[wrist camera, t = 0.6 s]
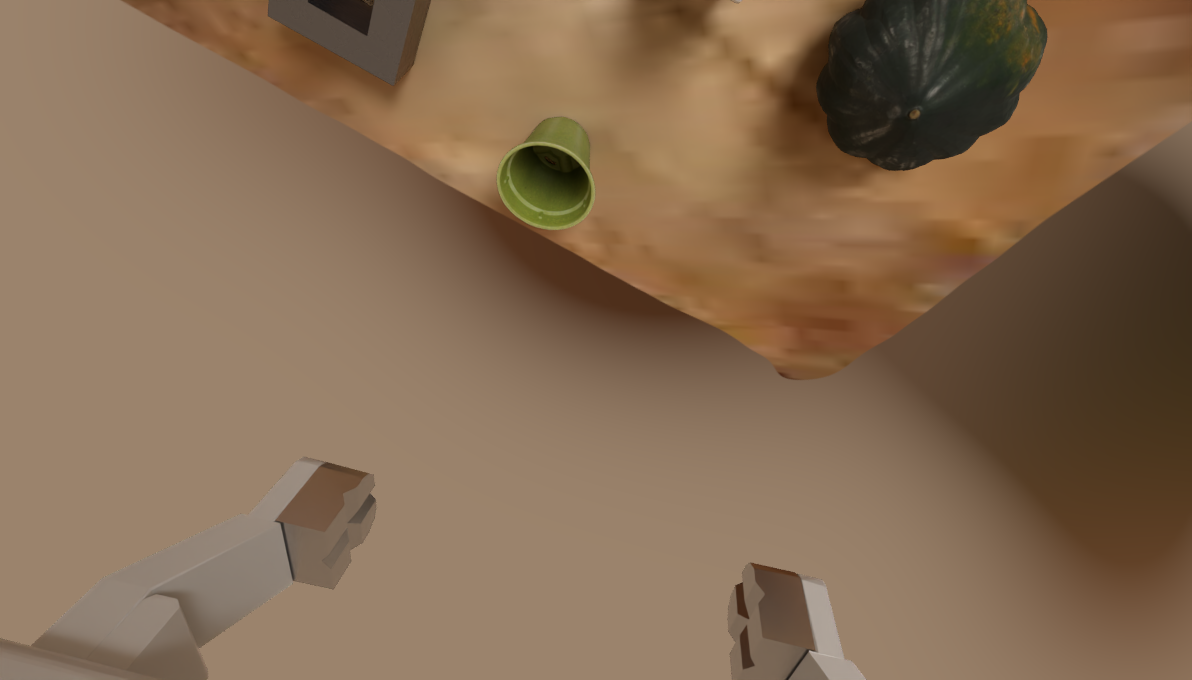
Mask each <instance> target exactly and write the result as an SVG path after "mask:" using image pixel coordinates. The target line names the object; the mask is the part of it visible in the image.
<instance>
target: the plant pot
mask: <svg viewBox="0 0 1192 680" xmlns="http://www.w3.org/2000/svg"><path fill="white" fill-rule="evenodd" d="M545 156H546V157H548V158H549V159H550V160H552V161H553V162H555V163H556V165H553V164H551V163H549V162H548V161H547V160H546V159H545ZM576 161H578V162H576ZM496 181H497V188H498V192H499V195H500V197H501V199H502V201H503V202H504V204H505V205H506V207H507V208H508V209H509V210H510V211H511V212H512V213H513V214H514V215H515V216H516V217H517V218H519V219H521V220H522V221H524V222H525V223H527V224H529V225H531V226H534V227H537V228H542V229H547V230H561V229H566V228H570V227H572V226H574V225H576V224H578V223H580V222H581V221H582V220H583V219H584V218H585V217H586V216H587V215H588V214H589V212H590V211H591V209H592V206H593V204H594V199H595V184H594V180H593V177H592V174H591V172H590V144H589V140H588V137H587V134H586V132H585V131H584V129H583V128H582V127H581V126H580V125H579V124H577V123H576V122H575V121H573V120H571V119H569V118H565V117H555V118H548V119H546V120H544V121H542V122H541V123H540V124H539V125H538V126H537V127H536V128H535V130H534V131H533V132H532V134H531V135H530V136H529V137H528V139H527V140H526V141H525V142H524V143H523V144H520V145H518V146H516V147H514V148H513V149H511V150H510V151H509V152H508V153H507V154H506V155H505V156H504V158H503V159H502V161H501V163H500V165H499V167H498V171H497V179H496Z"/></svg>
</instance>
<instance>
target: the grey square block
mask: <svg viewBox="0 0 1192 680" xmlns="http://www.w3.org/2000/svg"><path fill="white" fill-rule="evenodd" d="M430 1H431V0H374V5H373V7H371V6H370V5H368V4H366V3H365V2H363V1H361V0H269V4H268V16H269V17H271V18H272V19H274V20H276V21H278V22H280V23H281V24H283V25H285V26H287V27H289V28H290V29H292V30H294V31H296V32H297V33H299V34H301V35H303V36H305V37H306V38H308V39H310V40H312V41H314V42H315V43H317V44H319V45H321V46H323V47H324V48H326V49H328V50H330V51H332V52H333V53H335V54H337V55H339V56H341V57H342V58H344V59H346V60H348V61H350V62H351V63H353V64H355V65H357V66H359V67H360V68H362V69H364V70H366V71H368V72H369V73H371V74H373V75H375V76H377V77H378V78H380V79H382V80H384V81H386V82H387V83H389V84H391V85H393V86H394V85H395V84H396V83H397V82H398V81H399V80H400V79H401V77H402V76H403V75H404V74H405V73H406V72H407V71H408V70H409V69H410V68H411V66H412V65H413V63H414V60H415V56H416V52H417V49H418V45H419V41H420V38H421V34H422V30H423V27H424V23H425V20H426V16H427V12H428V9H429V5H430Z"/></svg>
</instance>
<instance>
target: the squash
mask: <svg viewBox="0 0 1192 680" xmlns="http://www.w3.org/2000/svg"><path fill="white" fill-rule="evenodd" d="M1046 42H1047V29H1046V26H1045V24H1044V22H1043V20H1042V19H1041V17H1040V16H1039V15H1038V13H1037V12H1036V10H1035V9H1034V8H1033V7H1031V6H1030V5H1028V4H1027V0H866V1H865V4H864V6H863V8H861V9H857V10H855V11H852V12H850V13H848V14H846V15H845V16H844V17H842V18H841V19H840V20H839V21H838V22H836V24H835V25H834V27H833V30H832V32H831V35H830V40H829V45H828V48H829V60H828V63H827V64H826V65H825V67H824V68H823V70H822V72H821V74H820V76H819V78H818V81H817V85H816V90H817V96H818V101H819V103H820V105H821V107H822V109H823V111H824V112H825V113H826V114H827V125H828V131H829V133H830V136H831V138H832V139H833V141H834V143H835V144H836V146H837V147H838V148H839V149H840V150H841V151H843V152H845V153H847V154H849V155H852V156H855V157H861V158H867V159H868V160H869V161H871V162H872V163H873V164H876V165H878V166H880V167H882V168H884V169H886V170H894V171H895V170H903V171H905V170H910V169H914V168H917V167H919V166H922V165H925V164H927V163H929V162H930V161H932V160H936V159H945V158H949V157H953V156H956V155H958V154H961V153H963V152H965V151H966V150H968V149H969V148H970V147H971V146H972V145H973V144H974V143H975V141H976V140H977V139H978V138H979V136H982V135H985V134H987V133H989V132H991V131H993V130H995V129H997V128H999V127H1000V126H1002V125H1004V124H1005V123H1006V122H1007V121H1008V120H1009V119H1010V117H1011V116H1012V114H1013V112H1014V110H1015V108H1016V107H1017V104H1018V101H1019V93H1020V92H1021V91H1022V90H1023V89H1024V88H1025V87H1026V86H1027V85H1028V84H1029V82H1030V81H1031V79H1032V77H1033V76H1034V74H1035V72H1036V70H1037V68H1038V66H1039V64H1040V62H1041V59H1042V56H1043V53H1044V49H1045V46H1046Z"/></svg>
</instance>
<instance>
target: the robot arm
mask: <svg viewBox="0 0 1192 680" xmlns="http://www.w3.org/2000/svg"><path fill="white" fill-rule="evenodd" d="M374 486H375V483H374V475H372V474H369V473H366V472H362V471H358V470H354V469H350V468H346V467H343V466H339V465H335V464H332V463H328V462H324V461H320V460H316V459H312V458H307V457H302V458H301V459H299V460H297V461H296V462H295V463H294V464H293V465H292V466H291V467H290V468H289V470H288V471H287V472H286V473H285V474H284V475H283V476H282V477H281V478H280V480H279V481H278V482H277V483H276V484H275V485H274V487H272V488H271V490H270V491H269V492H268V493H267V494H266V495H265V496H264V497H263V499H262V500H261V501H260V502H259V503H258V504H257V505H256V506H255V508H254V509H253V510H252V511H251V512H250V513H249V514H248V515H245V514H239V515H237V516H235V517H233V518H230V519H228V520H226V521H224V522H222V523H220V524H217V525H216V526H213V527H211V528H209V529H207V530H205V531H202V532H200V533H198V534H196V535H194V536H192V537H189V538H187V539H185V540H183V541H181V542H179V543H176V544H174V545H172V546H170V547H168V548H166V549H164V550H161V551H159V552H157V553H155V554H153V555H151V556H148V557H146V558H144V559H142V560H140V561H138V562H136V563H133V564H131V565H129V566H127V567H125V568H123V569H120V570H118V571H116V572H114V573H112V574H110V575H108V576H105V577H103V578H102V579H101V580H100V581H99V582H98V583H96V584H95V585H94V586H93V587H92V588H91V589H90V590H89V591H88V592H87V593H86V594H85V595H84V596H83V597H82V598H81V599H80V600H79V601H77V603H75V605H73V606H72V607H71V608H70V609H69V610H68V611H67V612H66V613H65V614H64V615H63V616H62V617H61V618H60V619H59V620H57V622H55V623H54V625H52V626H51V627H50V628H49V629H48V630H47V631H46V632H45V633H44V634H43V635H42V636H41V637H40V638H39V639H38V640H36V641H35V643H33V644H32V645H31V646H29V645H25V644H21V643H17V642H13V641H9V640H5V639H1V638H0V680H207V679H208V670H207V667H206V665H205V662H204V660H203V658H202V655H201V653H200V651H199V648H200V647H202V646H203V645H205V644H206V643H208V642H209V641H210V640H212V639H213V638H215V637H216V636H218V635H219V634H221V633H222V632H223V631H225V630H226V629H228V628H229V627H231V626H232V625H234V624H235V623H236V622H238V621H239V620H241V619H242V618H243V617H245V616H247V615H248V614H249V613H251V612H252V611H254V610H255V609H257V608H258V607H260V606H261V605H263V603H265V602H267V601H268V600H270V599H271V598H273V597H274V596H276V595H277V594H278V593H280V592H281V591H283V590H284V589H286V588H287V587H288V586H290V585H291V584H293V581H297V582H302V583H306V584H311V585H315V586H320V587H325V588H329V589H334V588H335V586H336V585H337V583H338V582H339V580H340V578H341V577H342V575H343V574H344V572H345V570H346V569H347V567H348V565H349V564H350V562H351V555H350V550H351V549H353V548H355V547H357V546H358V545H360V544H362V543H363V541H364V540H365V538H366V536H367V535H368V533H369V531H370V529H371V526H372V523H373V521H374V518H375V513H376V499H375V498H374V497H373V496H372V495H371V494H370V492H371V490H372V489H373V488H374ZM742 578H743V582H742V583H740V584H737V585H735V587H734V590H733V592H732V594H731V597H730V602H729V607H728V632H729V633H730V635H731V636H732V638H733V639H734V641H735V642H736V643H735V645H734V647H733V648H732V650H731V652H730V662H731V674H732V680H866V678H865V677H864V676H863V675H862V674H861V672H860V671H859V669H858V668H857V667H856V666H855V664H854V663H853V662H852V661H850V660H846V659H844V655H843V651H842V648H841V644H840V640H839V636H838V632H837V628H836V624H835V620H834V616H833V612H832V609H831V604H830V600H829V597H828V593H827V589H826V585H825V583H824V582H823V580H822V579H818V578H814V577H810V576H805V575H801V574H796V573H795V572H791V571H786V570H781V569H777V568H772V567H768V566H763V565H759V564H754V563H748V564H747V565H746V566H745V568H744V570H743V572H742Z"/></svg>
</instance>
